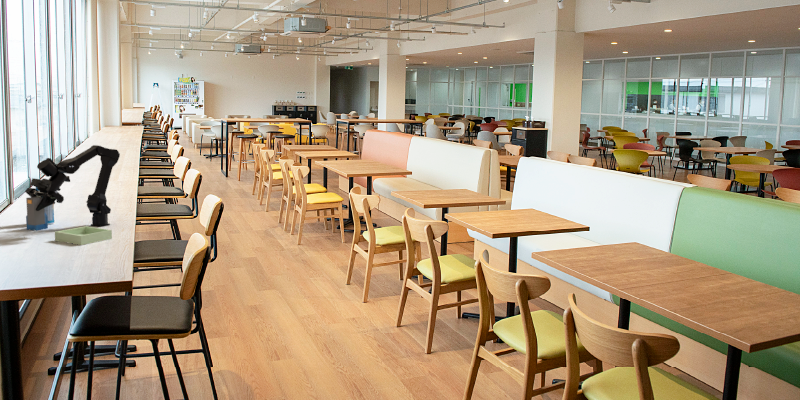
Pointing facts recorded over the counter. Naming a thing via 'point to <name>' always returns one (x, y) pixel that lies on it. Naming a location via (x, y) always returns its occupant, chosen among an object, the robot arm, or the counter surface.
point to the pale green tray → (83, 235)
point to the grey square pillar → (34, 211)
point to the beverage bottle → (49, 212)
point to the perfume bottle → (38, 227)
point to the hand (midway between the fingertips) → (32, 210)
